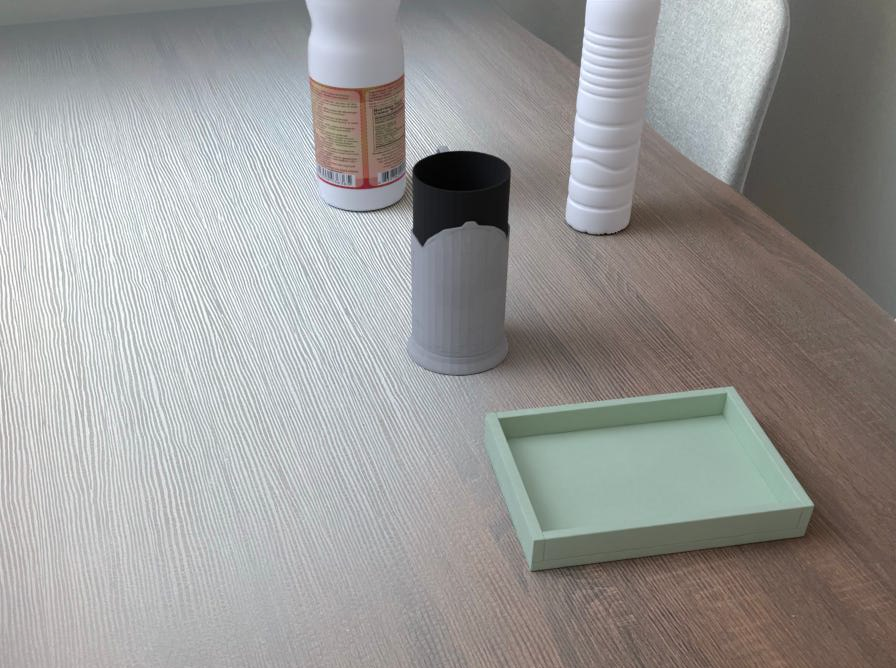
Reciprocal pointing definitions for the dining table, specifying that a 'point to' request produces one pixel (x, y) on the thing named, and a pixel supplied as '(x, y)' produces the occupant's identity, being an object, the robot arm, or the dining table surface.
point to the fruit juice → (357, 102)
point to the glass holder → (459, 261)
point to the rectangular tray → (641, 478)
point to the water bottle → (610, 112)
